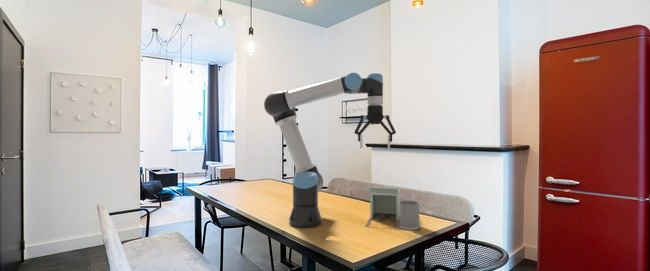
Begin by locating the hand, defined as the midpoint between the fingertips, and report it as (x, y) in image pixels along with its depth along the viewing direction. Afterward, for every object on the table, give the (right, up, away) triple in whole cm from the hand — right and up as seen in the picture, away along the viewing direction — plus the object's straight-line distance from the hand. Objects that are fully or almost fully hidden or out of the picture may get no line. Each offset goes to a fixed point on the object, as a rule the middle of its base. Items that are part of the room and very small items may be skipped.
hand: (374, 148), depth 158 cm
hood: (+5, -33, -2) cm, 34 cm away
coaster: (+12, -33, -18) cm, 40 cm away
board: (+7, -35, -10) cm, 37 cm away
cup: (+12, -33, -18) cm, 40 cm away
